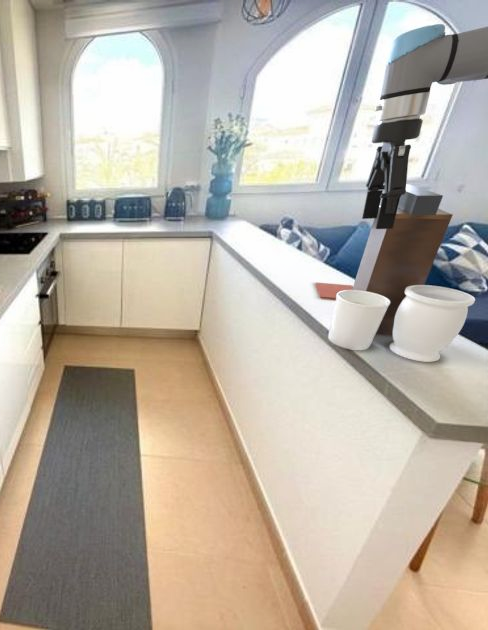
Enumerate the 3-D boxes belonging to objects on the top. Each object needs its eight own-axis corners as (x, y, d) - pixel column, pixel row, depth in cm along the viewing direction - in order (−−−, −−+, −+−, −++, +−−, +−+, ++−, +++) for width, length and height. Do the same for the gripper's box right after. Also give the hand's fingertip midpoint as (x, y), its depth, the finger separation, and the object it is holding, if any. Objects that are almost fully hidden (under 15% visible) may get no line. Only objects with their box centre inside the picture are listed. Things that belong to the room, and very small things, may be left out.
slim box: (404, 200, 89) (410, 184, 87) (435, 215, 73) (443, 195, 71) (384, 200, 90) (389, 184, 89) (410, 214, 74) (417, 195, 73)
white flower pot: (382, 353, 80) (400, 307, 75) (334, 350, 82) (348, 305, 77) (361, 333, 88) (375, 290, 83) (317, 331, 91) (329, 289, 86)
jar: (396, 362, 76) (422, 301, 70) (374, 339, 85) (395, 283, 79) (457, 368, 73) (490, 304, 67) (428, 343, 82) (454, 285, 76)
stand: (389, 318, 94) (432, 205, 81) (402, 337, 85) (453, 214, 72) (344, 313, 98) (378, 205, 85) (352, 331, 90) (391, 213, 77)
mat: (351, 287, 115) (351, 285, 114) (360, 302, 104) (360, 300, 104) (315, 284, 119) (315, 282, 119) (320, 298, 109) (321, 296, 108)
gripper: (362, 126, 84) (346, 215, 92) (391, 119, 64) (367, 234, 72) (403, 120, 80) (383, 214, 88) (448, 111, 60) (416, 233, 68)
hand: (376, 223), depth 80 cm, fingers open, 13 cm apart
